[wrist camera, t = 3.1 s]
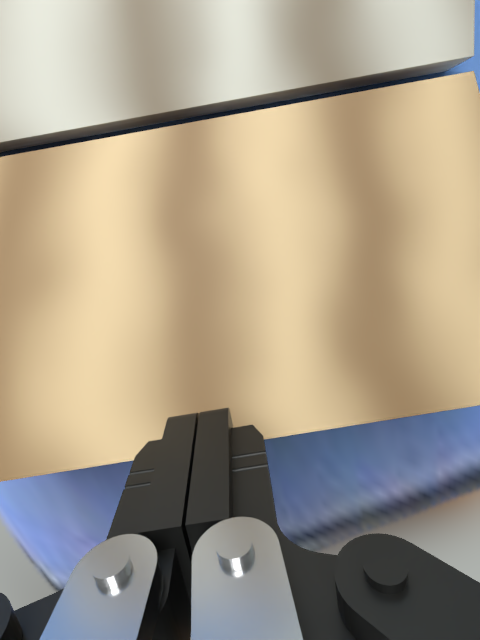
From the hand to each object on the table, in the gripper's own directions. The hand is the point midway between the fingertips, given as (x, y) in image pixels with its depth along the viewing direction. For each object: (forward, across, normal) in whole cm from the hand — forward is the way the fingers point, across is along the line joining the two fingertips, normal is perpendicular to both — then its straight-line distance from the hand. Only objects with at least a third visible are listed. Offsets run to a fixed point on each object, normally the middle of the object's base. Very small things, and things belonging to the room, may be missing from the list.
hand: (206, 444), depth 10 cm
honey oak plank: (+8, 0, -2) cm, 8 cm away
